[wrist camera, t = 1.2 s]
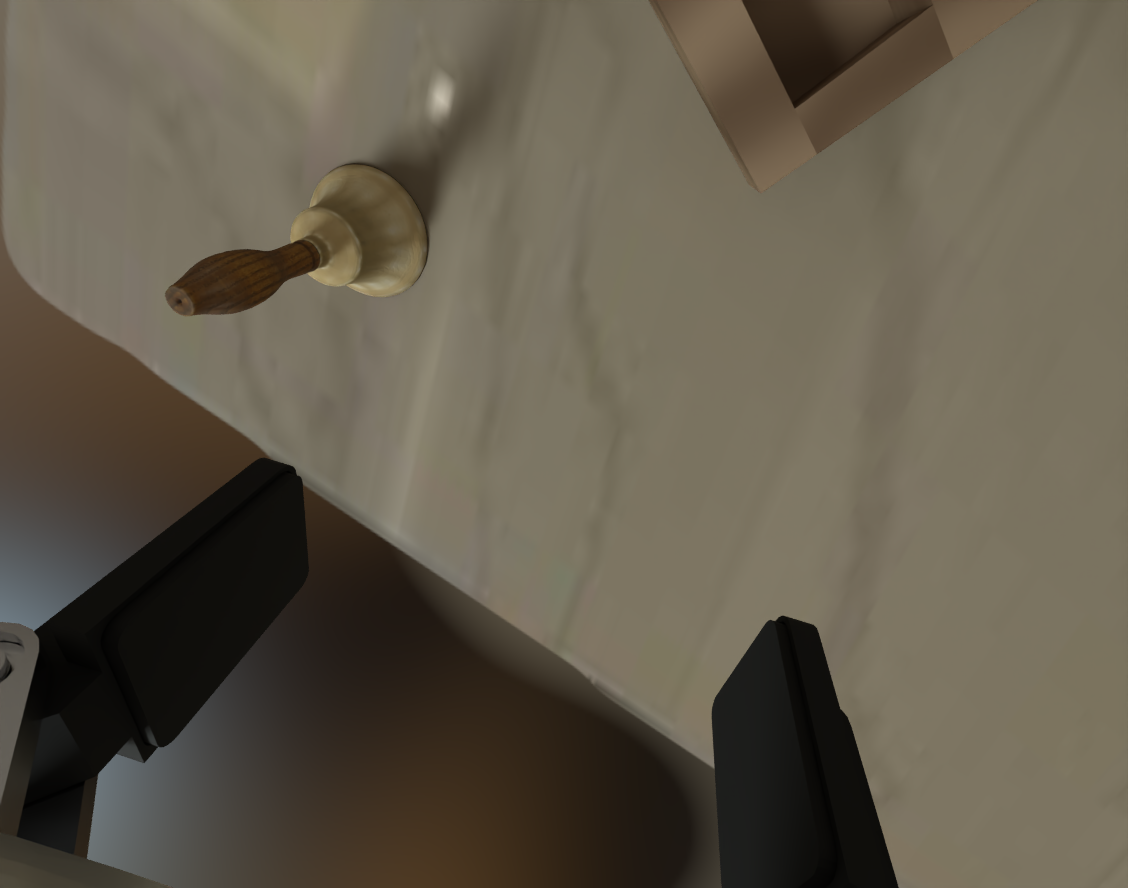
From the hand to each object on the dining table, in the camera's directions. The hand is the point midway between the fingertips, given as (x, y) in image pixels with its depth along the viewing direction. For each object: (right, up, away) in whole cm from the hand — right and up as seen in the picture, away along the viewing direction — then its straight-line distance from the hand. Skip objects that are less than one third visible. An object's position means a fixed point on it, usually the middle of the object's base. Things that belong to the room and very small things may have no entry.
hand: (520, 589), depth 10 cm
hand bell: (-12, +17, +25) cm, 32 cm away
